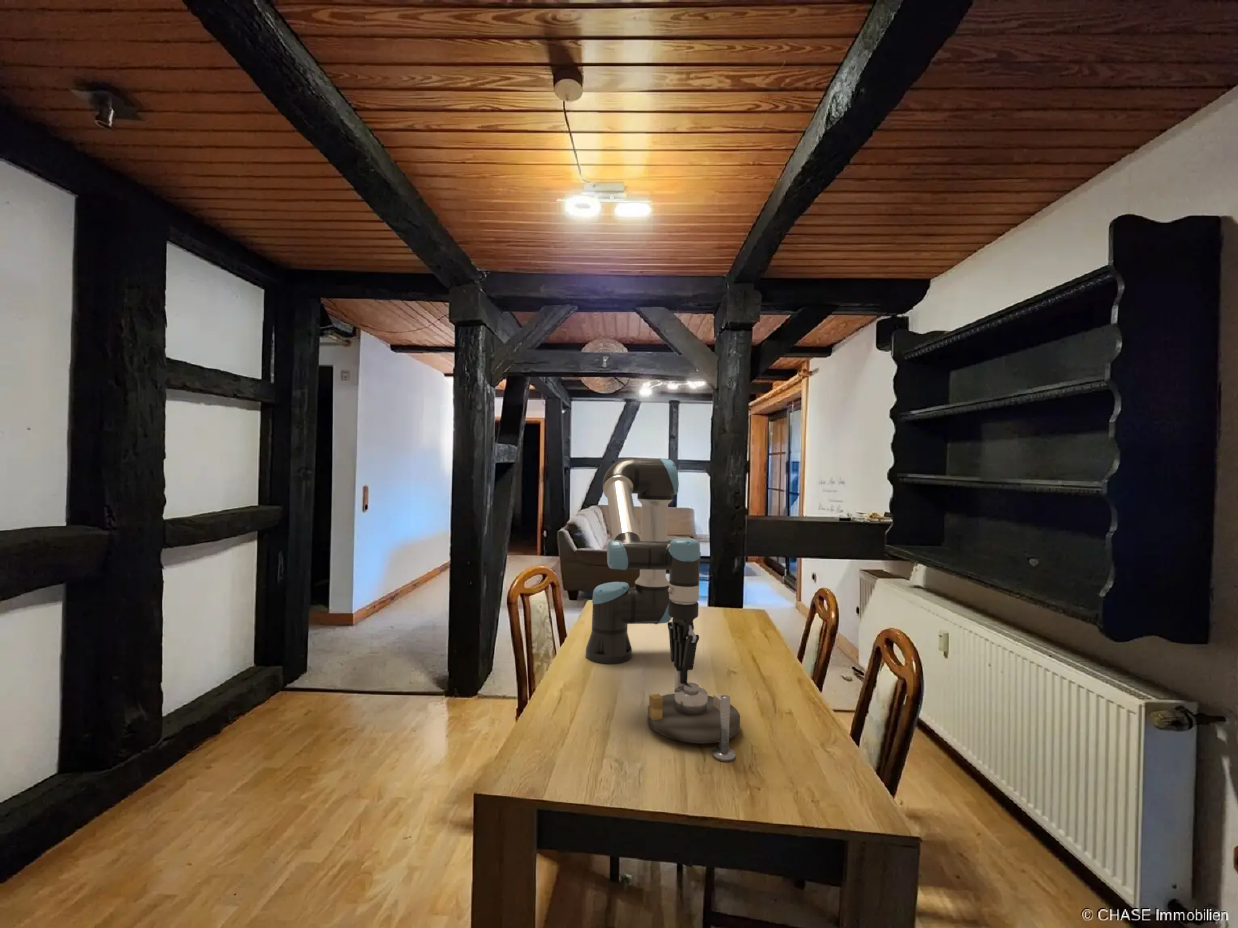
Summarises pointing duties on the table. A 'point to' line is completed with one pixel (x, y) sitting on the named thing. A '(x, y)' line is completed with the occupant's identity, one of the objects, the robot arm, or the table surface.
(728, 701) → the dial post
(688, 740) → the turntable
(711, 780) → the table surface
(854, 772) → the table surface
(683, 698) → the cover
